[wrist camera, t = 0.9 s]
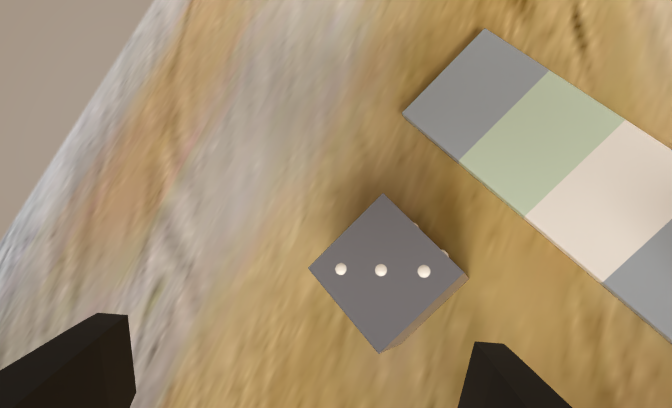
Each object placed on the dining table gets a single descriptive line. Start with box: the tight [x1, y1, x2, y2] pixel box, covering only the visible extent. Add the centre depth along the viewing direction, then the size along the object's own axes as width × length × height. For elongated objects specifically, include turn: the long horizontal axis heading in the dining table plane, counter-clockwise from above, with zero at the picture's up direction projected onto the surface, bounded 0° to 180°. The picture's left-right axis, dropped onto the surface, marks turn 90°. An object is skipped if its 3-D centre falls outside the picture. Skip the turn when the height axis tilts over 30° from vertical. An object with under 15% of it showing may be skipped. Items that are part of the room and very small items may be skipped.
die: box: [308, 193, 469, 354], centre depth 19 cm, size 5×5×5 cm
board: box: [402, 28, 672, 344], centre depth 18 cm, size 20×6×1 cm, turn 42°
